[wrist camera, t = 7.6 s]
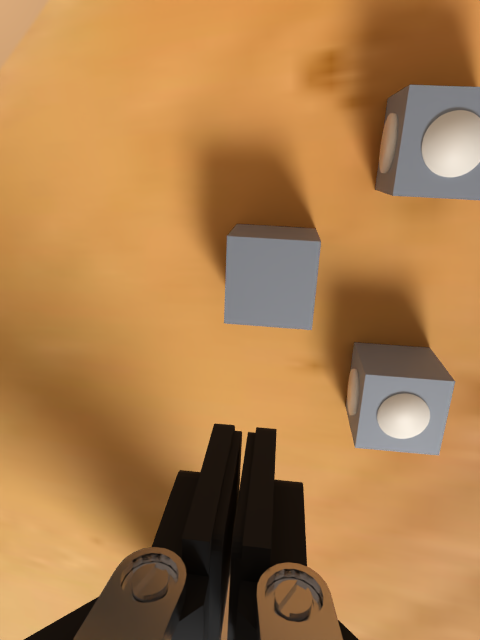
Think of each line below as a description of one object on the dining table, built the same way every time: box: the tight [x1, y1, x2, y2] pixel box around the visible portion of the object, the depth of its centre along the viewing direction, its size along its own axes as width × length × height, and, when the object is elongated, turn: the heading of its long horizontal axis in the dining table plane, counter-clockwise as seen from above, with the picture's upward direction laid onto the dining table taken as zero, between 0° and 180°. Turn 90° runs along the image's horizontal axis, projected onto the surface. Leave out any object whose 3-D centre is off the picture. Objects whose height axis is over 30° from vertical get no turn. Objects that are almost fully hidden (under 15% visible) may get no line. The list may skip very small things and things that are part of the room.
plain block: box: [224, 224, 321, 330], centre depth 33 cm, size 6×6×6 cm
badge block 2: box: [346, 342, 455, 455], centre depth 35 cm, size 6×6×6 cm
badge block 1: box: [375, 85, 480, 200], centre depth 29 cm, size 6×6×6 cm
